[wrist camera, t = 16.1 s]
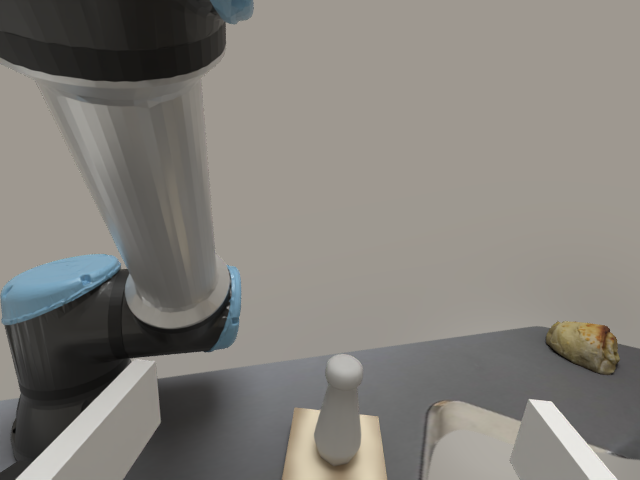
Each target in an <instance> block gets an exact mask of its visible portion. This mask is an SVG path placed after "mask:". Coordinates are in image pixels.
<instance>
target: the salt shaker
mask: <svg viewBox="0 0 640 480" xmlns="http://www.w3.org/2000/svg"><path fill="white" fill-rule="evenodd" d="M325 376H326V379H327V382H328V383H329V384H328V387H327V390H326V394H325V397H324V401H323V404H322V407H321V411H320V414H319V417H318V421H317V424H316V428H315V432H314V439H315V443H316V446H317V449H318V451H319V454H320V456H321V458H323V459H324V460H325V461H327V462H328V463H330V464H331V465H332V466H338V465H342V464H347V463H348V462H349V461H350V460H351V459H352V458H353V457H354V455H355V454H356V452H357V451H358V449H359V448H360V445H361V425H360V414H359V404H358V393H357V387H358V386H359V385H360V384H361V382H362V377H363V366H362V365H361V363H360V362H359V361H358V360H357V359H356V358H354V357H353V356H350V355H347V354H339V355H336V356H333V357H332V358H331V359H329V360H328V362H327V366H326V370H325Z"/></svg>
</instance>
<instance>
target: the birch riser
mask: <svg viewBox="0 0 640 480" xmlns="http://www.w3.org/2000/svg"><path fill="white" fill-rule="evenodd" d="M320 411H321V410H312V409H303V408H295V409H294V415H293V420H292V426H291V431H290V437H289V443H288V448H287V454H286V459H285V465H284V471H283V476H282V480H387V475H386V468H385V461H384V454H383V447H382V440H381V433H380V426H379V419H378V416H368V415H360V425H361V445H360V448H359V449H358V451H357V452H356V454H355V455H354V457H353V458H352V459H351V460H350V461H349V462H348V463H347V464H342V465H338V466H332V465H331V464H330V463H328V462H327V461H325V460H324V459H323V458H321V456H320V454H319V451H318V449H317V446H316V443H315V439H314V432H315V428H316V424H317V421H318V417H319V414H320Z"/></svg>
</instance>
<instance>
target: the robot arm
mask: <svg viewBox="0 0 640 480" xmlns="http://www.w3.org/2000/svg"><path fill="white" fill-rule="evenodd" d="M253 9H254V7H253V0H0V64H2V65H4V66H6V67H8V68H10V69H12V70H15V71H16V72H19V73H21V74H23V75H25V76H27V77H29V78H31V79H33V80H35V82H36V84H37V86H38V88H39V90H40V92H41V94H42V96H43V98H44V100H45V102H46V104H47V106H48V108H49V110H50V112H51V114H52V116H53V118H54V120H55V122H56V124H57V127H58V129H59V131H60V133H61V135H62V137H63V139H64V141H65V143H66V145H67V147H68V149H69V151H70V153H71V155H72V157H73V159H74V161H75V163H76V165H77V167H78V169H79V171H80V173H81V175H82V177H83V179H84V181H85V183H86V185H87V187H88V189H89V191H90V193H91V196H92V198H93V199H94V202H95V204H96V206H97V208H98V210H99V212H100V214H101V216H102V218H103V220H104V222H105V224H106V226H107V228H108V230H109V232H110V234H111V236H112V238H113V240H114V242H115V244H116V246H117V248H118V250H119V252H120V254H121V257H122V259H123V260H124V262H125V265H126V267H127V269H121V263H120V262H119V261H118V259H117V258H116V257H115V256H112V255H109V256H108V255H106V254H92V255H83V256H77V257H71V258H66V259H61V260H57V261H53V262H50V263H47V264H43V265H40V266H37V267H35V268H32V269H30V270H27V271H25V272H23V273H21V274H19V275H17V276H16V277H14V278H13V279H11V280H10V281H9V282H8V283H7V284H6V285H5V286H4V287H3V289H2V291H1V295H0V297H1V308H2V323H3V324H4V325H5V329H6V334H7V338H8V342H9V346H10V350H11V354H12V358H13V362H14V366H15V370H16V375H17V379H18V383H19V387H20V391H21V395H20V398H19V402H18V407H17V412H16V419H15V421H14V423H13V426H12V430H11V444H12V448H13V452H14V456H15V458H16V460H17V462H16V463H14V464H13V465H11V466H10V467H8V468H7V469H5V470H4V471H2V472H1V473H0V480H123V479H124V477H125V476H126V474H127V473H128V471H129V470H130V468H131V467H132V465H133V464H134V462H135V461H136V459H137V458H138V456H139V455H140V453H141V452H142V450H143V449H144V447H145V446H146V444H147V443H148V441H149V440H150V438H151V437H152V435H153V434H154V432H155V431H156V429H157V428H158V426H159V424H160V423H161V418H160V406H159V395H158V383H157V372H156V361H150V360H140V359H135V360H133V362H131V360H130V358H138V357H149V356H158V355H170V354H180V353H190V352H201V351H204V352H212V351H214V350H217V349H224V348H228V347H229V346H231V345H232V344H233V343H234V341H235V339H236V336H237V332H238V327H239V316H240V310H241V279H240V273H239V271H238V270H237V268H236V267H234V266H229V265H226V264H225V262H224V261H223V260H222V258H221V257H220V256H219V255H218V254H217V253H215V245H214V232H213V221H212V208H211V195H210V183H209V170H208V157H207V146H206V133H205V121H204V108H203V95H202V83H201V78H202V77H203V76H204V75H205V74H206V73H208V72H209V71H210V70H211V69H212V68H213V67H215V66H216V65H217V64H218V63H219V62H220V61H221V59H222V58H223V56H224V54H225V50H226V28H225V27H226V24H225V22H227V23H230V24H237V22H238V21H243V20H248V19H249V18H250V17H251V16H252V14H253ZM510 463H511V464H512V466H513V468H514V470H515V472H516V473H517V475H518V477H519V479H520V480H617V479H616V477H615V476H614V475H613V474H612V473H611V472H610V470H609V469H608V468H607V467H606V466H605V464H604V463H603V462H602V461H601V460H600V459H599V457H598V456H597V455H596V454H595V453H594V451H593V450H592V449H591V448H590V447H589V445H588V444H587V443H586V442H585V441H584V440H583V438H582V437H581V436H580V435H579V434H578V432H577V431H576V430H575V429H574V428H573V427H572V425H571V424H570V423H569V422H568V421H567V419H566V418H565V417H564V416H563V415H562V414H561V412H560V411H559V410H558V409H557V408H556V406H555V405H554V404H553V403H552V402H551V401H541V400H532V399H528V402H527V405H526V409H525V412H524V415H523V419H522V422H521V425H520V428H519V432H518V435H517V438H516V441H515V445H514V448H513V452H512V455H511V458H510Z"/></svg>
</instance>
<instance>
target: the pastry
mask: <svg viewBox="0 0 640 480" xmlns="http://www.w3.org/2000/svg"><path fill="white" fill-rule="evenodd" d="M546 343H547V344H548V345H549V346H550V347H551V348H552V349H553V350H555V351H556V352H558V354H560V355H562V356H563V357H565V358H566V359H568V360H570V362H572V363H574V364H576V365H580V366H582V367H584V368H587V369H589V370H592V371H593V372H597V373H600V374H604V375H610V373H613V372H614V370H615V369H616V368H615V365H616V364H617V363H618V362H619V361H620V359H619V355H618V353H617V349H618V347H617V339H616V337H615V336H614V335H613V334H612V333H610V329H609V328H608V327H607V326H604V325H597V324H589V323H580V322H568V321H564V322H562V323H560V322H557V323H556V324H554V325H553V326H552V327H551V328H550V329H549V331H548V333H547V336H546Z"/></svg>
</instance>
